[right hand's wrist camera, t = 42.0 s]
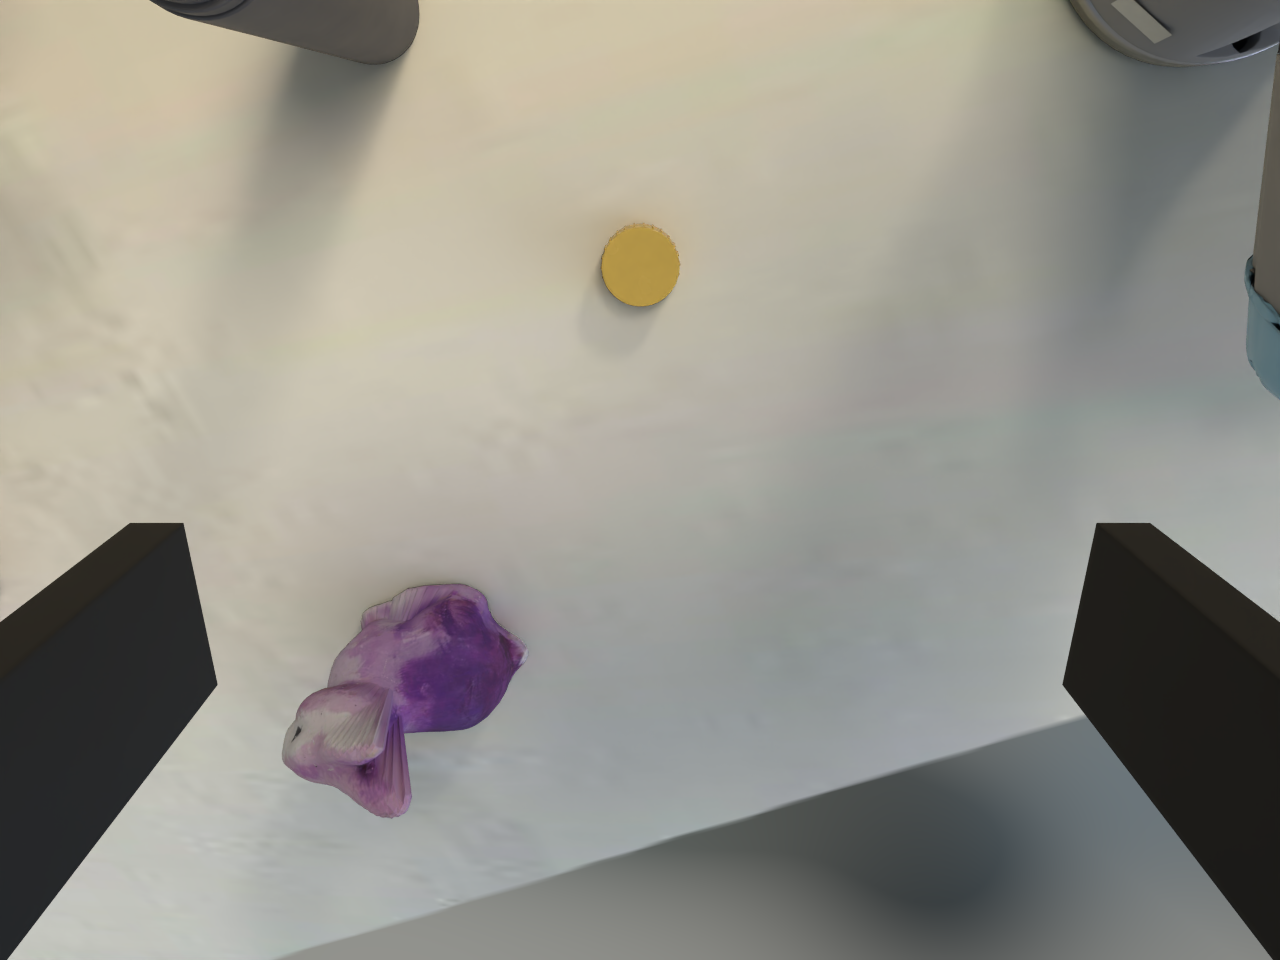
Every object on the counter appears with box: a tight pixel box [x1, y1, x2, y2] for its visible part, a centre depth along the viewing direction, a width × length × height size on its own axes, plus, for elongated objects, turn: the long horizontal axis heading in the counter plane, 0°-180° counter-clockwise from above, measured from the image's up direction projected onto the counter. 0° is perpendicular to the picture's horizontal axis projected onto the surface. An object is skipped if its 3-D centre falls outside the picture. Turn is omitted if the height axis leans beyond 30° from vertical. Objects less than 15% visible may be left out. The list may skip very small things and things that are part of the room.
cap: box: [601, 223, 680, 306], centre depth 46 cm, size 4×4×2 cm
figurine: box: [282, 584, 528, 818], centre depth 49 cm, size 9×10×15 cm
